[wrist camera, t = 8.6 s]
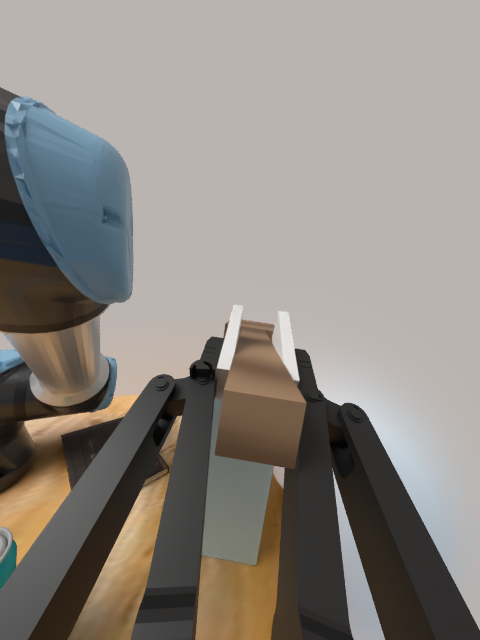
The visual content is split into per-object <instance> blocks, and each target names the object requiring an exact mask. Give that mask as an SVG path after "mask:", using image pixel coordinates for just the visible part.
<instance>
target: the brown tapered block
mask: <svg viewBox="0 0 480 640" xmlns="http://www.w3.org/2000/svg"><path fill="white" fill-rule="evenodd" d="M228 324H229V321H228V322H227V323H226V324H225V331H224V338H225V335H226V332H227V328H228ZM274 327H275V326H274V325H273V324H267V323H261V322H254V321H247V320H241V328H240V335H239V339H238V343H237V346H236V350H235V353H234V356H233V360H232V363H231V367H230V370H229V373H228V377H227V380H226V384H225V387H224V392H223V399H222V406H221V413H220V420H219V427H218V434H217V441H216V448H215V456H221V457H227V458H233V459H239V460H244V461H250V462H256V463H262V464H268V465H273V466H279V467H285V468H291V469H294V468H295V463H296V458H297V452H298V447H299V441H300V436H301V431H302V425H303V420H304V414H305V409H306V404H307V403H306V401H305V400H304V398H303V396H302V394H301V393H300V391H299V389H298V387H297V386H296V384H295V382H294V380H293V379H292V377H291V375H290V373H289V372H288V370H287V368H286V366H285V365H284V363H283V362H282V360H281V358H280V356H279V355H278V353H277V351H276V349H275V347H274V346H273V344H272V335H273V331H274Z"/></svg>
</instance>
